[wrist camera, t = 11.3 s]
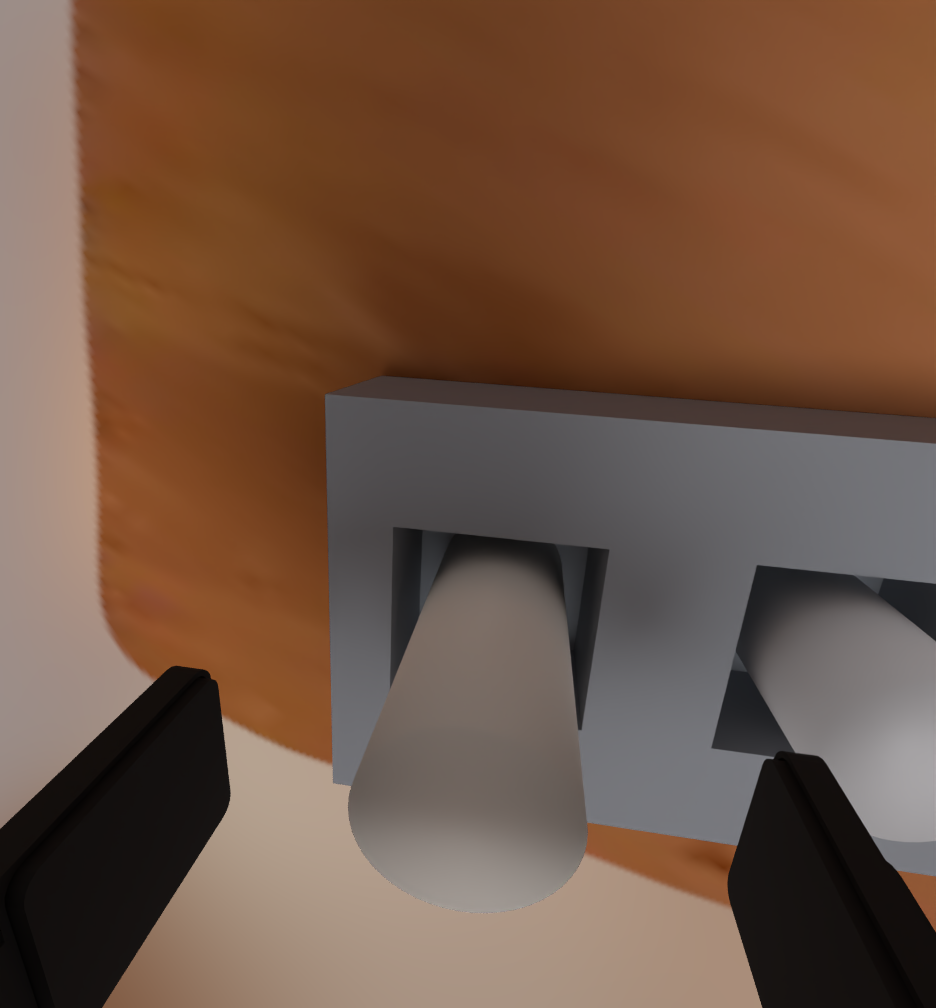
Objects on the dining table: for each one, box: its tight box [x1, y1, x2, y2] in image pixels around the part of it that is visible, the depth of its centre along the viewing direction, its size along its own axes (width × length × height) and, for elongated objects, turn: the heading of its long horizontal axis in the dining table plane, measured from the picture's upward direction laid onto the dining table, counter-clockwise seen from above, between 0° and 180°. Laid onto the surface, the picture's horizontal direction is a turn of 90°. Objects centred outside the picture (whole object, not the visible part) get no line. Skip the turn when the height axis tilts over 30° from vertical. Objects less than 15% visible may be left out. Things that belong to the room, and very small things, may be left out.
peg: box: [348, 533, 588, 913], centre depth 14 cm, size 4×4×10 cm
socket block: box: [325, 376, 936, 876], centre depth 15 cm, size 12×18×8 cm, turn 87°
